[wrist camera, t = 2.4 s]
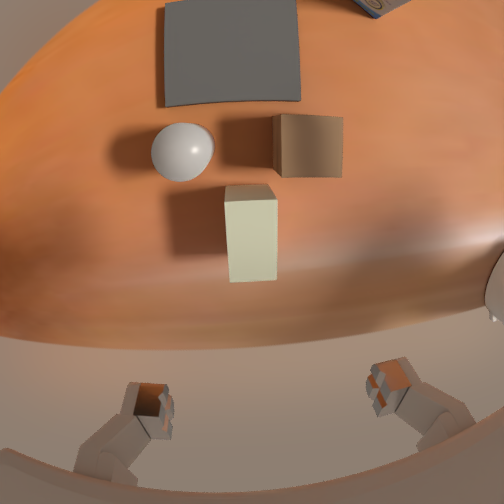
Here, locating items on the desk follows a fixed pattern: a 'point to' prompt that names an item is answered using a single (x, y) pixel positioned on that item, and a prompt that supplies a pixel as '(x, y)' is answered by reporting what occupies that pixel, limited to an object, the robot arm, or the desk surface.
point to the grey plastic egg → (182, 151)
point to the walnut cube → (307, 145)
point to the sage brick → (251, 232)
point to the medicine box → (380, 6)
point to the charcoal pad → (231, 51)
